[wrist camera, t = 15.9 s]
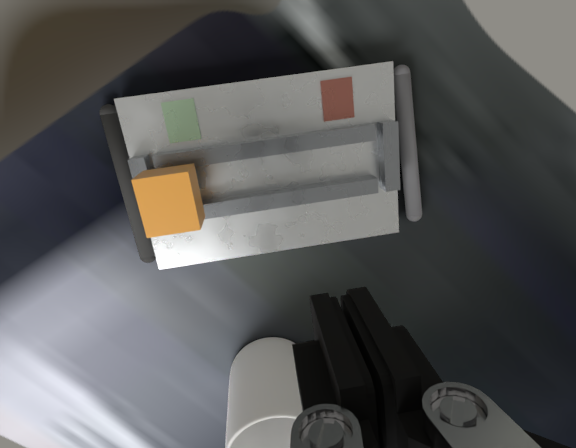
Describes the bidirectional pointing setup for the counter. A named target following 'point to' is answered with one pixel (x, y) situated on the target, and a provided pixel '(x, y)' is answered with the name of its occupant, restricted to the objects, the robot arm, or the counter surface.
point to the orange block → (169, 200)
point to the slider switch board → (274, 159)
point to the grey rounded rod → (407, 142)
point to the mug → (262, 395)
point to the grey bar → (125, 179)
